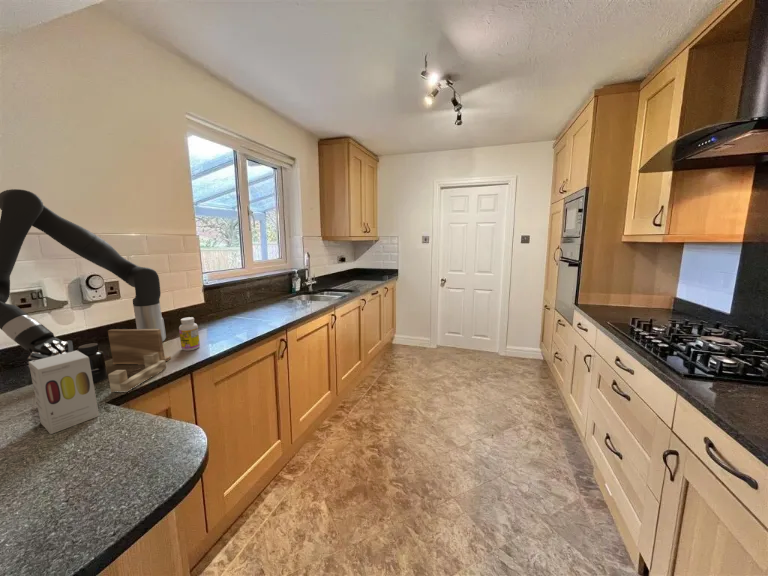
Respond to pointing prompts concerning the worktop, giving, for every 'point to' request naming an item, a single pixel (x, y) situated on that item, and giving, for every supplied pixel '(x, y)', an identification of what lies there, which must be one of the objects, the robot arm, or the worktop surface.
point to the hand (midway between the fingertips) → (73, 367)
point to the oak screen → (135, 345)
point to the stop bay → (124, 384)
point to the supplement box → (64, 390)
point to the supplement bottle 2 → (189, 334)
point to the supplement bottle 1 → (95, 361)
